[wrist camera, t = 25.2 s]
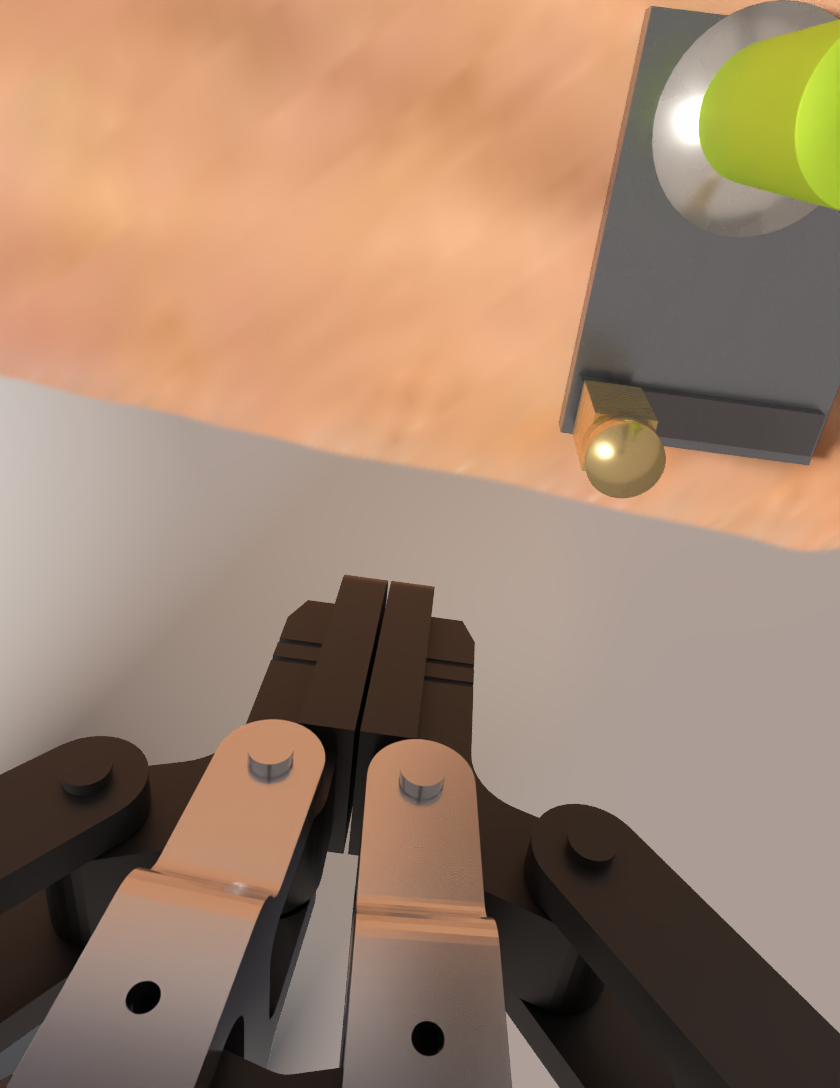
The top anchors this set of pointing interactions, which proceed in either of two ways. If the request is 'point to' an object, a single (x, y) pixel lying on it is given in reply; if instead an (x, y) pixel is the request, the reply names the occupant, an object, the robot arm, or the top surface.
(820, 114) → the soap dispenser
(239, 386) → the top surface
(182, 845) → the robot arm
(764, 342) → the plate
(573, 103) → the top surface
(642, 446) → the press lever
